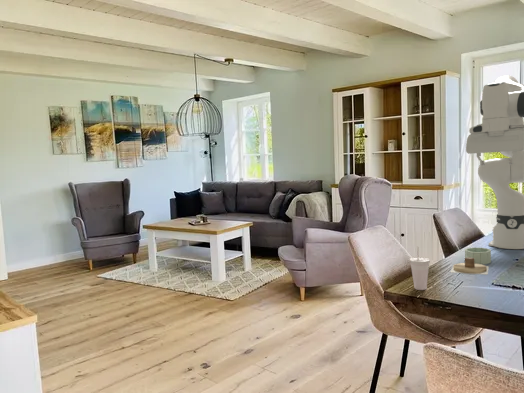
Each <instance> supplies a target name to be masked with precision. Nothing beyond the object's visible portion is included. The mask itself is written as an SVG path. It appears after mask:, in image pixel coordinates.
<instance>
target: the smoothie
mask: <svg viewBox="0 0 524 393" xmlns="http://www.w3.org/2000/svg"><path fill="white" fill-rule="evenodd" d="M419 248H420V246H416V256H417V257H411V258H409V264H410V268H411V275H412V281H413V286H414V289H415V290H418V291H425V290H427V288H428V278H429V277H428V276H429V265H430V264H431V260H430V258H429V257H422V256H421V257H420V249H419Z"/></svg>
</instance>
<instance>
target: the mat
mask: <svg viewBox="0 0 524 393" xmlns="http://www.w3.org/2000/svg"><path fill="white" fill-rule="evenodd" d="M455 264H456V263H455ZM455 264H452V267H451V269H450V273H452V274H453V273H455V274H464V273H463V272H458V271H455V270H454V269H453V266H454V265H455ZM485 266H486V267H487V270H486V271H485V272H482V273H466V274H469V275H471V274H472V275H484V276H487V275H488V274H489V268H490V266H489V265H485Z"/></svg>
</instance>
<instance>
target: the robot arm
mask: <svg viewBox="0 0 524 393" xmlns="http://www.w3.org/2000/svg"><path fill="white" fill-rule="evenodd" d="M482 89H483V90H482V96H481V101H479V104H480V106H479V109H480V115H481V116H482V119H481V123H479V124H477V125H475V126H472V127H470V128H469V130H468V132H469V135H467V138H466V143H465V144H466V145H465V152H466V153H467V154H470V155H471V154H476V158H477V159H478V161H479V166H478V169H477V175H478V177H479V179H480V180H481V182H483V183H485V184H486V185H488V186H489V188H491V190H492V192H493V193H494V195H495V199H496V207H497V208H496V209H497V214H496V217H495V219H496V225H494V226H493V228H492V240H491V241H489V242H488V247H489V246H490V247H495V248H499V249H506V250H507V249H508V250H524V194H523V193H522V192H520V191H518V190H515V189H513V188H511V186H510V184H513V183H514V184H515V183H516V184H518V183H519V184H520V183H522V184H523V183H524V84H523V83H519V80H517V79H516V77H514V76H513V75H510V74H509V75H508V74H506V75H502V76H499V77H498V78H497V79H495V80H494V81H493V82H489V83H486V84H484V85H483V87H482ZM485 153H487V154H488V153H500V154H501V155H502V156H505V157H499V158H491V159H486V160H483V159H482V158H481V156H482V154H485Z"/></svg>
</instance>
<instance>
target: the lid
mask: <svg viewBox="0 0 524 393" xmlns="http://www.w3.org/2000/svg"><path fill="white" fill-rule="evenodd" d="M453 265H454V264H453ZM453 265H452V267H453V269H454V270H455V271H458V272H463V273H462V274H467V273H482V272H485V271H486V270H487V267H486V266H487V265H486V264H477V263H474V258H470V257H468V258H465V257H464V262H459V263H455V265H454V266H453Z"/></svg>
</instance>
